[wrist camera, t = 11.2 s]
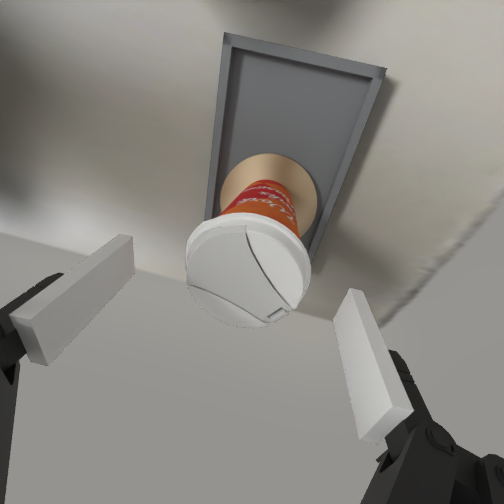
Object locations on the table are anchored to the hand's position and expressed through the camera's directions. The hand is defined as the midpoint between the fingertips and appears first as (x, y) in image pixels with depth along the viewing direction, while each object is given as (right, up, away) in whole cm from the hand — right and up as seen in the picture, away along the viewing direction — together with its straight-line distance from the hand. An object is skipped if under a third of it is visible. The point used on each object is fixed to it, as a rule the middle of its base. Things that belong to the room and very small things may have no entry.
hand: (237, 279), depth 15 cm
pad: (+3, +7, +14) cm, 16 cm away
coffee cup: (+2, +7, +13) cm, 15 cm away
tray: (+3, +10, +13) cm, 17 cm away
